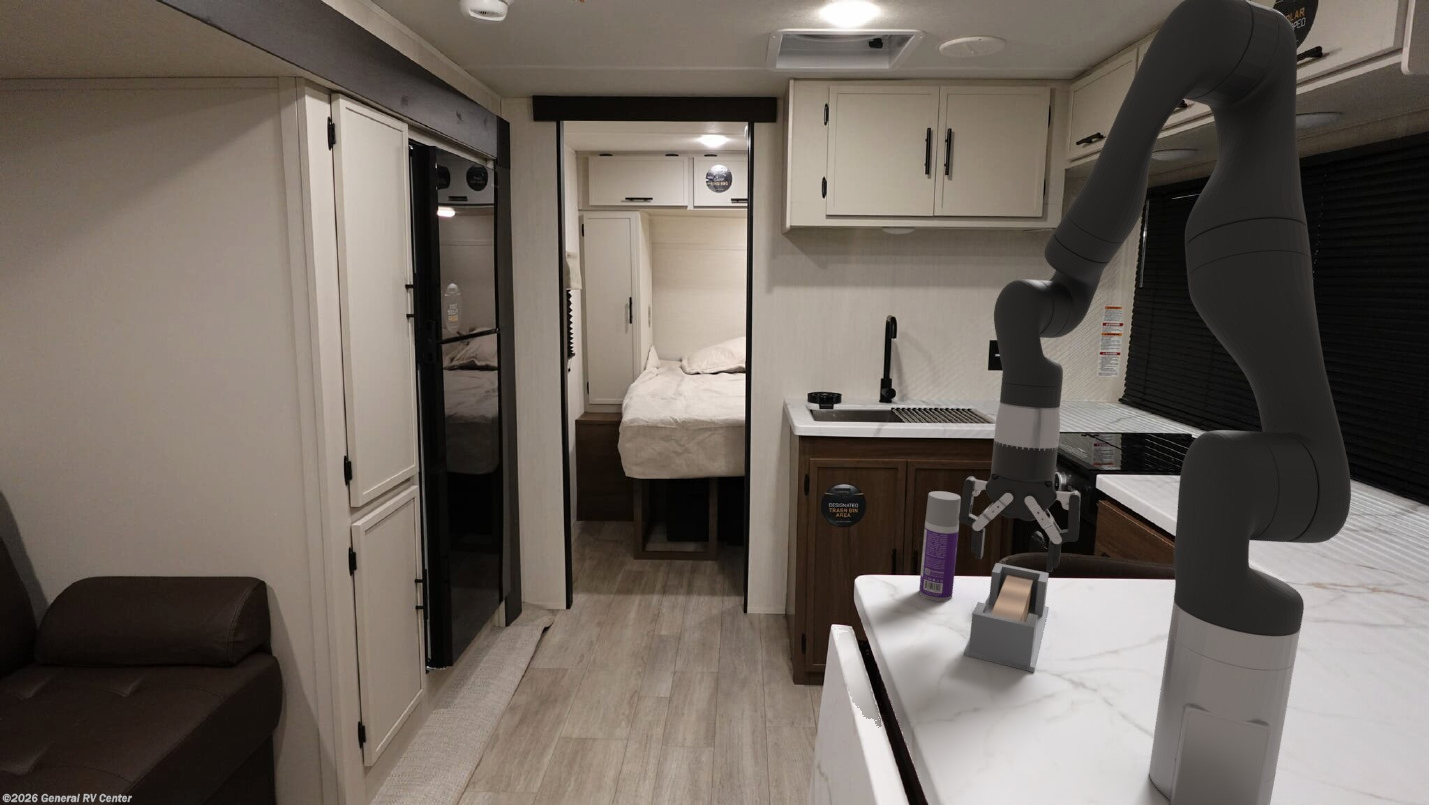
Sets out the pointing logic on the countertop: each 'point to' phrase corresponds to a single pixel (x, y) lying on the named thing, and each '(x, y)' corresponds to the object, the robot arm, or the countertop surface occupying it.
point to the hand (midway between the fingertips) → (1013, 563)
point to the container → (940, 546)
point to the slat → (1014, 598)
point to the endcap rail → (1009, 623)
